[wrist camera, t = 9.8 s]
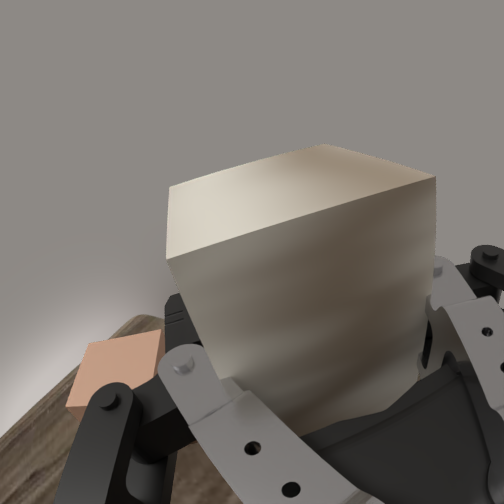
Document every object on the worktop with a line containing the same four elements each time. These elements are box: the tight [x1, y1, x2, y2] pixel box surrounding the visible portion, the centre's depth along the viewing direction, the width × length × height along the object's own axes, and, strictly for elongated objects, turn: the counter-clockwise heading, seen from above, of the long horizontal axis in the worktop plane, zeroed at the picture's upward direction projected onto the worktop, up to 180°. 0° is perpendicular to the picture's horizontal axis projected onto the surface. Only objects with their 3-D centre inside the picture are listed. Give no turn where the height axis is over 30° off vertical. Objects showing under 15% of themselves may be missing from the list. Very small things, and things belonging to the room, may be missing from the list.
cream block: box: [166, 144, 436, 437], centre depth 9 cm, size 5×5×10 cm
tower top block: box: [65, 329, 165, 423], centre depth 30 cm, size 10×10×4 cm
